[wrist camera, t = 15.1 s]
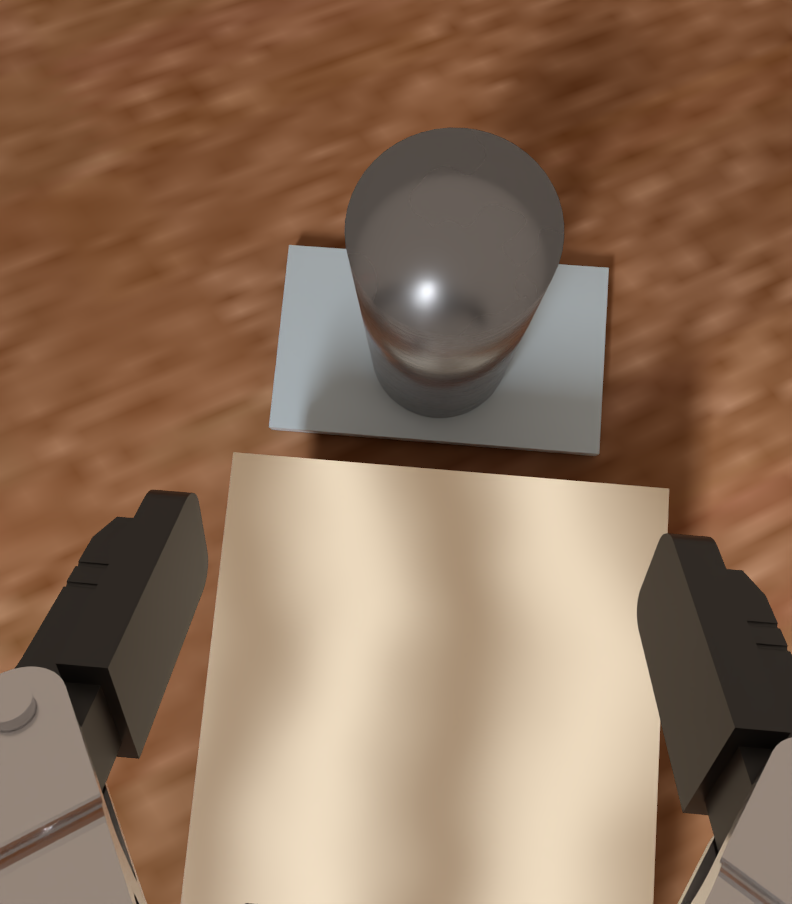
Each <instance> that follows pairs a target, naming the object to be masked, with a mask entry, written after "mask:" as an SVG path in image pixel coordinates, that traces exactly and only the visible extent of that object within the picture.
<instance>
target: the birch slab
mask: <svg viewBox="0 0 792 904" xmlns="http://www.w3.org/2000/svg"><path fill="white" fill-rule="evenodd" d="M668 508H669V489H668V488H656V487H644V486H632V485H620V484H608V483H596V482H584V481H572V480H560V479H548V478H536V477H524V476H512V475H500V474H488V473H476V472H464V471H452V470H440V469H428V468H416V467H404V466H392V465H380V464H368V463H356V462H344V461H332V460H320V459H308V458H296V457H284V456H272V455H260V454H248V453H236V452H233V459H232V468H231V477H230V485H229V494H228V502H227V511H226V519H225V528H224V537H223V545H222V554H221V562H220V571H219V580H218V588H217V597H216V605H215V614H214V622H213V631H212V640H211V648H210V657H209V665H208V674H207V682H206V691H205V700H204V708H203V717H202V725H201V734H200V742H199V751H198V760H197V768H196V777H195V785H194V794H193V802H192V811H191V820H190V828H189V837H188V845H187V854H186V862H185V871H184V880H183V888H182V897H181V904H245V903H252V904H653V897H654V871H655V845H656V819H657V794H658V768H659V742H660V716H659V712H658V708H657V704H656V700H655V696H654V692H653V688H652V683H651V679H650V675H649V671H648V667H647V663H646V659H645V655H644V650H643V646H642V642H641V638H640V634H639V630H638V624H637V601H638V596H639V592H640V589H641V586H642V584H643V581H644V579H645V576H646V573H647V571H648V568H649V565H650V563H651V560H652V558H653V555H654V552H655V550H656V547H657V544H658V542H659V540H660V538H661V536H662V535H663V534H665V533H668Z"/></svg>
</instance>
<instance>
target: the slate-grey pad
mask: <svg viewBox="0 0 792 904" xmlns="http://www.w3.org/2000/svg"><path fill="white" fill-rule="evenodd" d="M608 274H609V268H605V267H591V266H577V265H563V264H559V265H558V267H557V269H556V272H555V274H554V276H553V278H552V280H551V282H550V284H549V286H548V288H547V290H546V292H545V294H544V296H543V298H542V300H541V302H540V304H539V306H538V308H537V310H536V312H535V314H534V316H533V318H532V320H531V322H530V324H529V326H528V328H527V330H526V332H525V334H524V336H523V338H522V340H521V342H520V344H519V346H518V348H517V350H516V352H515V354H514V356H513V358H512V360H511V362H510V364H509V366H508V368H507V370H506V372H505V374H504V376H503V378H502V380H501V382H500V383H499V385H498V387H497V388H496V390H495V391H494V392H493V394H492V395H491V396H490V397H489V398H488V399H487V400H486V401H485V402H484V403H482V404H481V405H479V406H478V407H477V408H475V409H473V410H471V411H469V412H467V413H464V414H462V415H458V416H454V417H448V418H431V417H425V416H421V415H418V414H415V413H413V412H410V411H408V410H406V409H405V408H403V407H401V406H400V405H398V404H397V403H396V402H395V401H393V400H392V399H391V398H390V396H389V395H388V394H387V393H386V392H385V390H384V389H383V388H382V386H381V384H380V383H379V381H378V379H377V376H376V374H375V371H374V367H373V362H372V358H371V354H370V350H369V345H368V341H367V337H366V332H365V328H364V324H363V319H362V315H361V311H360V306H359V302H358V298H357V293H356V289H355V285H354V280H353V276H352V272H351V267H350V263H349V259H348V254H347V250H346V249H339V248H325V247H311V246H297V245H289V251H288V260H287V269H286V278H285V287H284V296H283V305H282V314H281V323H280V332H279V341H278V350H277V359H276V368H275V377H274V386H273V395H272V404H271V413H270V422H269V427H270V428H271V429H272V430H282V431H295V432H307V433H319V434H331V435H343V436H356V437H368V438H380V439H392V440H404V441H417V442H429V443H441V444H453V445H466V446H478V447H490V448H502V449H514V450H527V451H539V452H551V453H563V454H575V455H588V456H596V455H598V454H599V450H600V430H601V411H602V391H603V372H604V352H605V333H606V313H607V294H608Z"/></svg>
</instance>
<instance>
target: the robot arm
mask: <svg viewBox="0 0 792 904" xmlns="http://www.w3.org/2000/svg"><path fill="white" fill-rule="evenodd" d="M78 562H79V564H78V566H76V567H75V568H74V570H73V572H72V573H71V575H70V577H69V578H68V580H67V585H66V587H63V589H62V590H61V592H60V594H59V596H58V597H57V599H56V601H55V602H54V604H53V606H52V607H51V609H50V611H49V613H48V614H47V616H46V618H45V619H44V621H43V623H42V625H41V626H40V628H39V630H38V631H37V633H36V635H35V637H34V638H33V640H32V642H31V643H30V645H29V647H28V648H27V650H26V652H25V654H24V655H23V657H22V659H21V660H20V662H19V663H18V665H17V666H16V667H15V669H12V670H9V671H6V672H3V673H1V674H0V904H147V903H146V900H145V897H144V894H143V891H142V889H141V886H140V883H139V880H138V877H137V874H136V871H135V868H134V865H133V862H132V859H131V856H130V853H129V850H128V847H127V844H126V841H125V838H124V835H123V832H122V829H121V826H120V823H119V819H118V816H117V813H116V810H115V807H114V804H113V801H112V798H111V795H110V792H109V789H108V786H107V784H106V780H107V778H108V775H109V773H110V771H111V768H112V766H113V763H114V761H115V758H116V756H117V757H127V758H138V759H139V758H140V755H141V753H142V750H143V748H144V745H145V742H146V740H147V737H148V734H149V732H150V729H151V726H152V724H153V721H154V719H155V716H156V713H157V711H158V708H159V705H160V703H161V700H162V697H163V695H164V692H165V690H166V687H167V684H168V682H169V679H170V676H171V674H172V671H173V668H174V666H175V663H176V660H177V658H178V655H179V653H180V650H181V647H182V645H183V642H184V639H185V637H186V634H187V631H188V629H189V626H190V624H191V621H192V618H193V616H194V613H195V610H196V608H197V605H198V602H199V600H200V597H201V595H202V592H203V589H204V586H205V582H206V577H207V570H208V553H207V547H206V541H205V535H204V529H203V524H202V518H201V512H200V506H199V501H198V498H197V496H196V494H195V493H187V492H175V491H162V490H150V491H149V492H148V493H147V494H146V496H145V498H144V499H143V501H142V503H141V505H140V507H139V509H138V511H137V512H136V514H135V516H134V518H125V517H116V518H115V519H114V520H113V521H111V522H110V523H109V524H108V525H107V526H105V527H104V528H103V529H102V530H101V531H99V532H98V533H97V534H96V535H95V536H93V537H92V539H91V541H90V543H89V544H88V546H87V548H86V549H85V551H84V553H83V555H82V556H81V558H80V560H79V561H78ZM637 624H638V630H639V634H640V638H641V642H642V646H643V650H644V655H645V659H646V663H647V667H648V671H649V675H650V679H651V683H652V688H653V692H654V696H655V700H656V704H657V708H658V712H659V716H660V720H661V725H662V729H663V733H664V737H665V741H666V745H667V749H668V753H669V758H670V762H671V766H672V770H673V774H674V778H675V782H676V786H677V791H678V795H679V799H680V803H681V807H682V811H683V813H691V814H702V815H709V819H710V823H711V826H712V830H713V834H714V836H713V837H712V839H711V840H710V842H709V843H708V845H707V847H706V849H705V851H704V853H703V855H702V857H701V859H700V861H699V863H698V865H697V867H696V869H695V871H694V873H693V875H692V877H691V879H690V881H689V883H688V884H687V886H686V888H685V890H684V892H683V894H682V896H681V898H680V900H679V902H678V904H792V655H791V652H789V651H787V643H786V641H785V639H784V637H783V634H782V632H781V630H780V629H778V628H777V624H778V623H777V621H776V618H775V616H774V614H773V611H772V609H771V607H770V605H769V602H768V600H767V598H766V596H765V594H764V593H763V592H762V591H761V590H760V589H759V588H758V587H757V586H756V585H755V584H754V583H753V582H752V580H751V579H750V578H749V577H748V576H747V575H746V574H745V573H744V572H743V571H742V570H730V569H726V567H725V565H724V562H723V559H722V557H721V554H720V552H719V549H718V547H717V545H716V543H715V541H714V540H713V539H712V538H711V537H705V536H693V535H681V534H669V533H665V534H663V535H662V536H661V538H660V540H659V542H658V544H657V547H656V550H655V552H654V555H653V558H652V560H651V563H650V565H649V568H648V571H647V573H646V576H645V579H644V581H643V584H642V586H641V589H640V592H639V596H638V601H637ZM245 904H252V903H245Z"/></svg>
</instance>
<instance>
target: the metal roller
mask: <svg viewBox="0 0 792 904" xmlns="http://www.w3.org/2000/svg"><path fill="white" fill-rule="evenodd" d="M345 243H346V250H347V254H348V259H349V263H350V267H351V272H352V276H353V280H354V285H355V289H356V293H357V298H358V302H359V306H360V311H361V315H362V319H363V324H364V328H365V332H366V337H367V341H368V345H369V350H370V354H371V358H372V362H373V367H374V371H375V374H376V376H377V379H378V381H379V383H380V384H381V386H382V388H383V389H384V390H385V392H386V393H387V394H388V395H389V396H390V398H391V399H392V400H393V401H395V402H396V403H397V404H398V405H400V406H401V407H403V408H405V409H406V410H408V411H410V412H413V413H415V414H418V415H421V416H425V417H431V418H448V417H454V416H458V415H462V414H464V413H467V412H469V411H471V410H473V409H475V408H477V407H478V406H479V405H481V404H482V403H484V402H485V401H486V400H487V399H488V398H489V397H490V396H491V395H492V394H493V392H494V391H495V390H496V388H497V387H498V385H499V383H500V382H501V380H502V378H503V376H504V374H505V372H506V370H507V368H508V366H509V364H510V362H511V360H512V358H513V356H514V354H515V352H516V350H517V348H518V346H519V344H520V342H521V340H522V338H523V336H524V334H525V332H526V330H527V328H528V326H529V324H530V322H531V320H532V318H533V316H534V314H535V312H536V310H537V308H538V306H539V304H540V302H541V300H542V298H543V296H544V294H545V292H546V290H547V288H548V286H549V284H550V282H551V280H552V278H553V276H554V274H555V272H556V269H557V267H558V265H559V261H560V258H561V254H562V250H563V243H564V220H563V213H562V208H561V205H560V201H559V198H558V196H557V193H556V191H555V189H554V186H553V184H552V183H551V181H550V180H549V178H548V176H547V175H546V173H545V172H544V171H543V169H542V168H541V167H540V166H539V165H538V163H537V162H536V161H535V160H534V159H533V158H531V157H530V156H529V155H528V154H527V153H526V152H524V151H523V150H522V149H520V148H519V147H518V146H516V145H515V144H513V143H511V142H509V141H507V140H506V139H504V138H501V137H499V136H496V135H494V134H491V133H487V132H484V131H480V130H475V129H468V128H442V129H434V130H430V131H426V132H421V133H419V134H416V135H413V136H410V137H408V138H406V139H404V140H402V141H400V142H398V143H396V144H395V145H393V146H392V147H390V148H389V149H387V150H386V151H385V152H383V153H382V154H381V155H380V156H379V157H378V158H377V159H376V160H374V162H373V163H372V164H371V165H370V166H369V167H368V168H367V170H366V171H365V172H364V174H363V175H362V177H361V178H360V180H359V181H358V183H357V185H356V187H355V189H354V191H353V193H352V196H351V199H350V202H349V205H348V208H347V214H346V219H345Z"/></svg>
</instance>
